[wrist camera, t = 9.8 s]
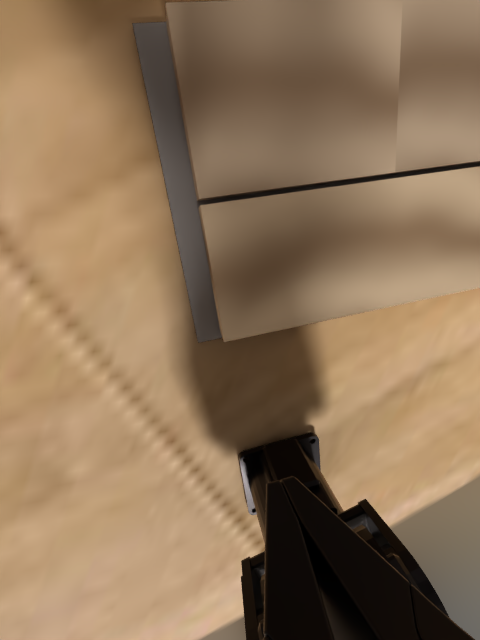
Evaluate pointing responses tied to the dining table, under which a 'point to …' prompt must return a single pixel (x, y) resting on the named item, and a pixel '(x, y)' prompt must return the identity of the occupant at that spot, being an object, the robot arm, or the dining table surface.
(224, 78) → the fixed plank row
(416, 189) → the loose plank
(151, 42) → the underlay mat
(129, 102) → the dining table surface
